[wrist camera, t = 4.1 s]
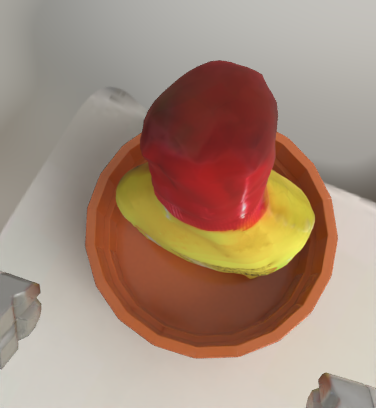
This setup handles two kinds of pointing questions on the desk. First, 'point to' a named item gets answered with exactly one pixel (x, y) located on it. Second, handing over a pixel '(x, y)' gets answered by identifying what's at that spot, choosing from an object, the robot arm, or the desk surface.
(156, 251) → the bowl
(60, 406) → the desk surface
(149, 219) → the bottle
